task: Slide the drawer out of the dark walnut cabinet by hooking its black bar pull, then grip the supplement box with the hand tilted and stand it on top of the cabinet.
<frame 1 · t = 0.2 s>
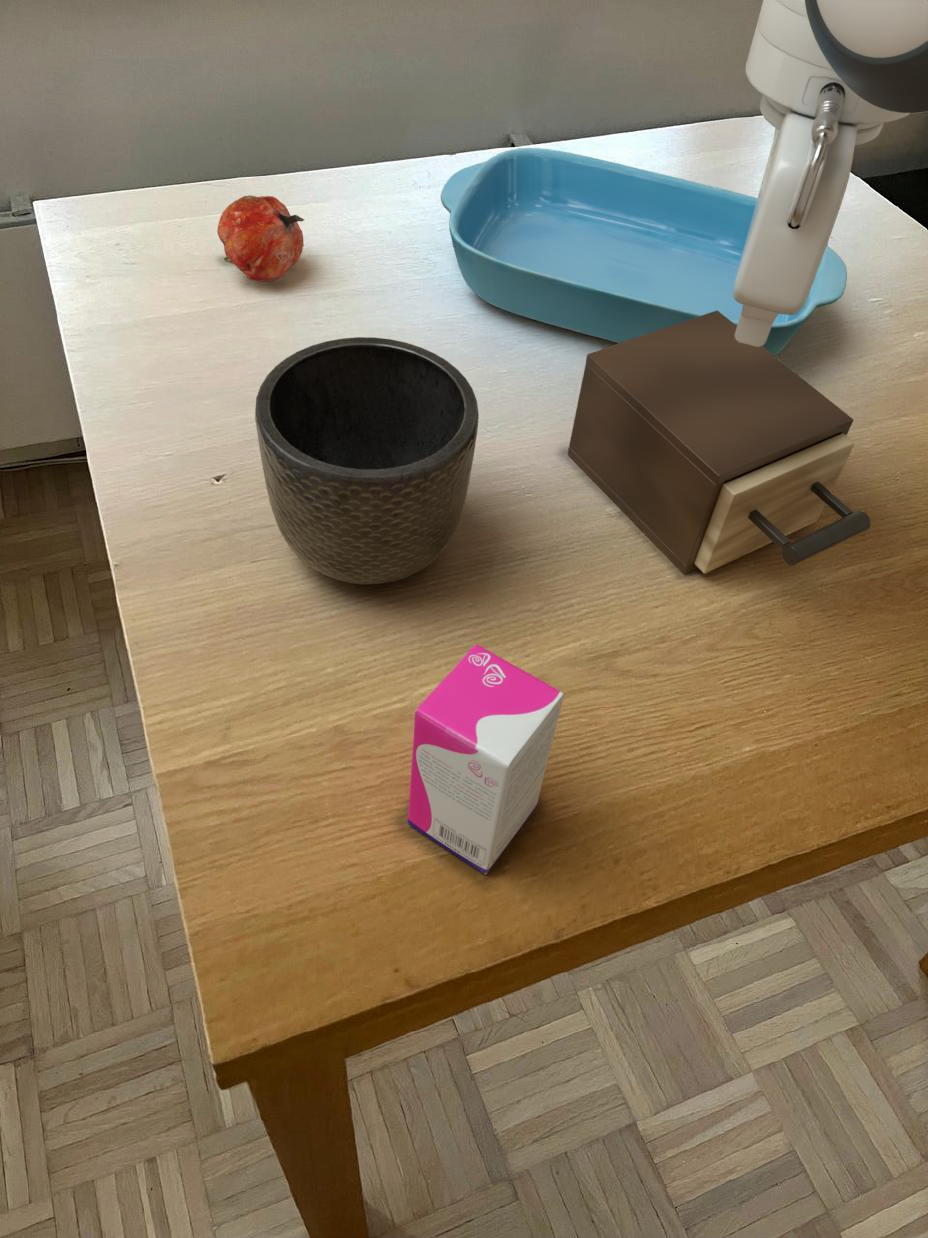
hand: (759, 294, 61), 20 cm above the table, tool pointing down, fingers open, 8 cm apart
supplement box: (472, 815, 60), on the table
cabinet: (685, 485, 80), on the table
planter: (367, 546, 74), on the table
casserole dish: (626, 296, 96), on the table
pomegranate: (262, 273, 94), on the table
drawer: (738, 472, 74), point 5 cm above the table, slide at 0.0 cm
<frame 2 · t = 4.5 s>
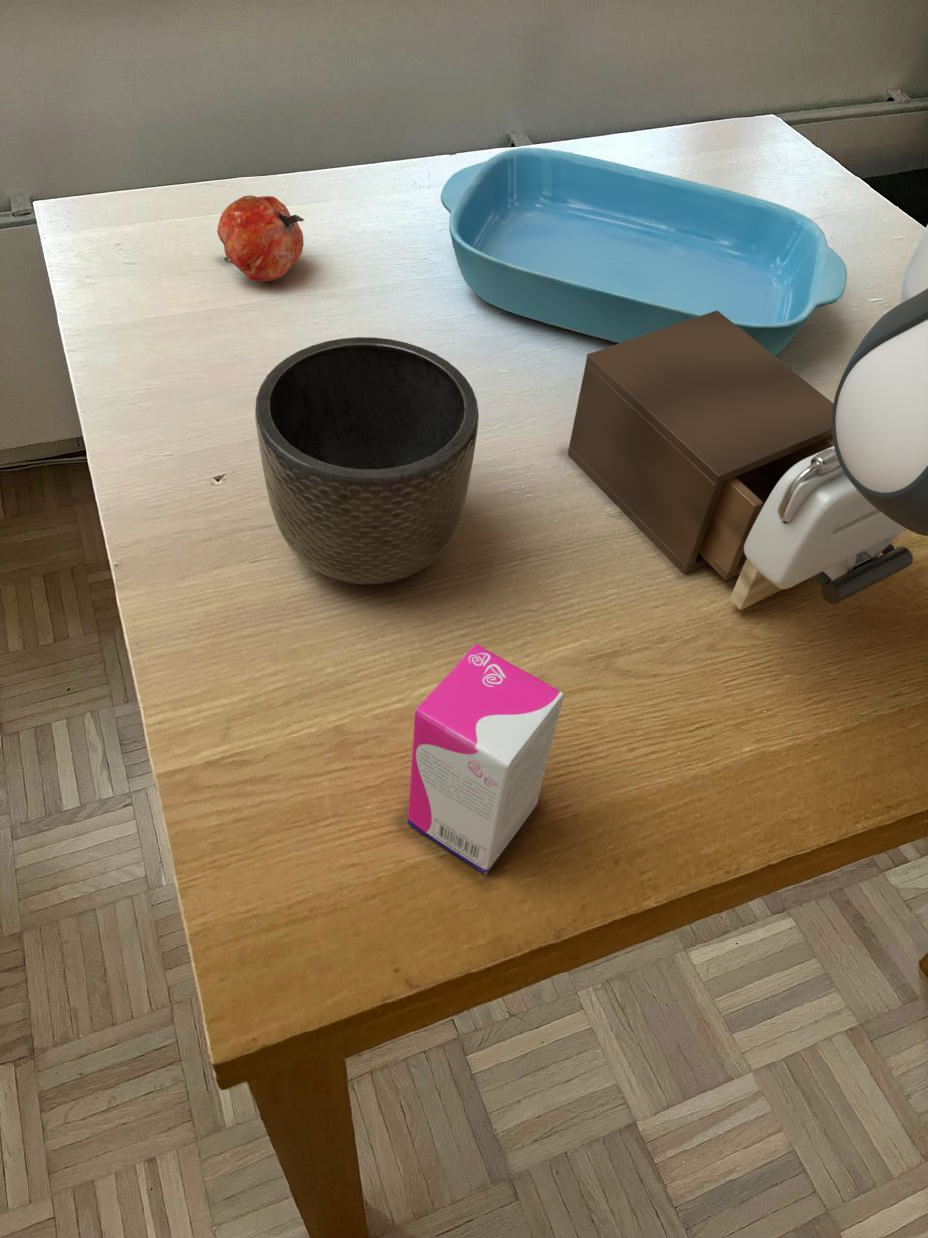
hand: (844, 571, 69), 4 cm above the table, tool pointing down, fingers closed, pressing on drawer
drawer: (775, 505, 72), point 5 cm above the table, slide at 3.9 cm, touching gripper
everything else where it was.
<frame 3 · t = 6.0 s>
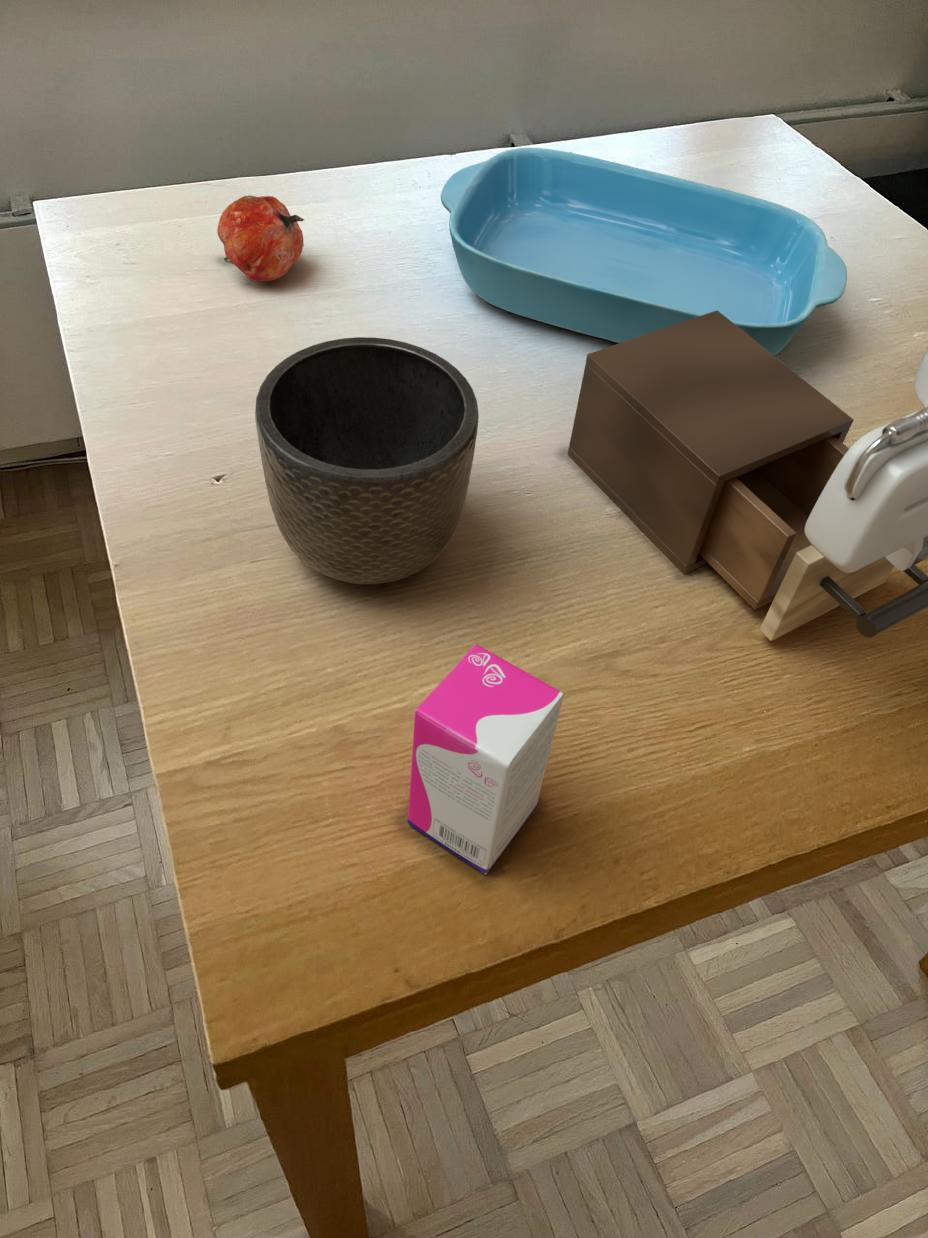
hand: (908, 556, 64), 9 cm above the table, tool pointing down, fingers closed
drawer: (805, 533, 71), point 5 cm above the table, slide at 7.0 cm
everything else where it was.
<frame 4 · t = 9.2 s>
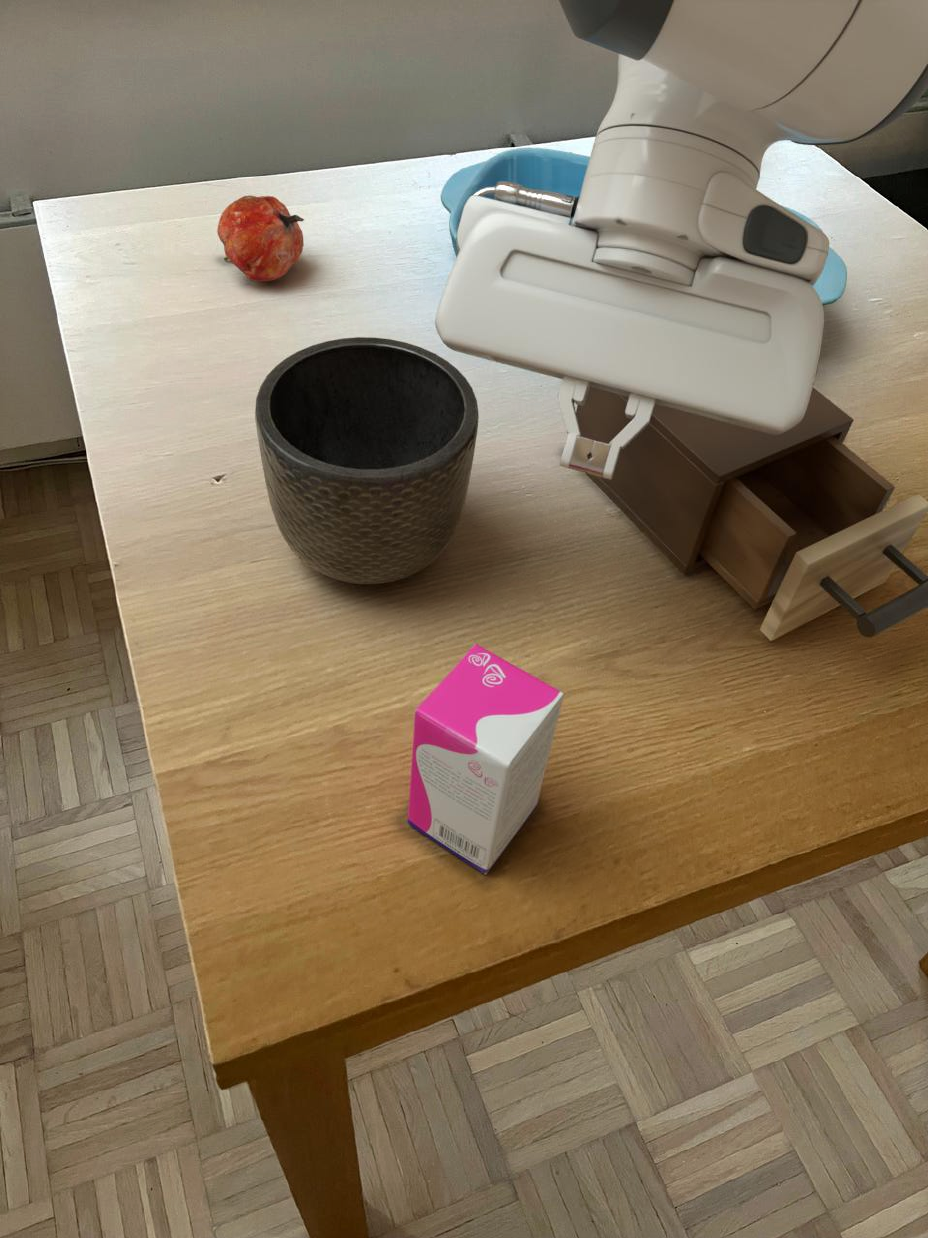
hand: (585, 472, 56), 16 cm above the table, tool tilted 45°, fingers closed
nothing on the table moved.
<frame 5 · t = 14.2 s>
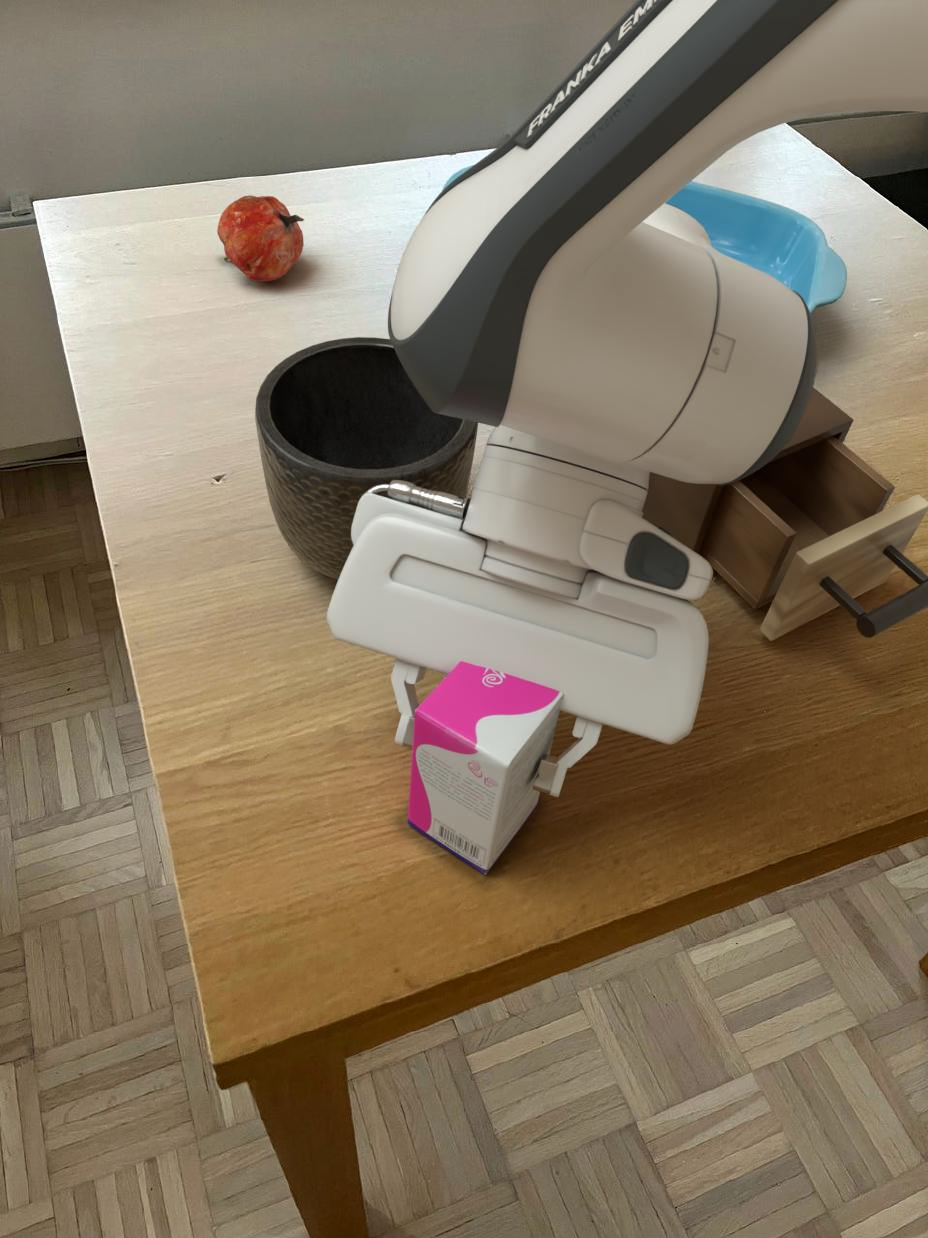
hand: (477, 769, 55), 6 cm above the table, tool tilted 45°, fingers closed on supplement box, 6 cm apart
supplement box: (472, 815, 60), on the table, touching gripper
everything else where it was.
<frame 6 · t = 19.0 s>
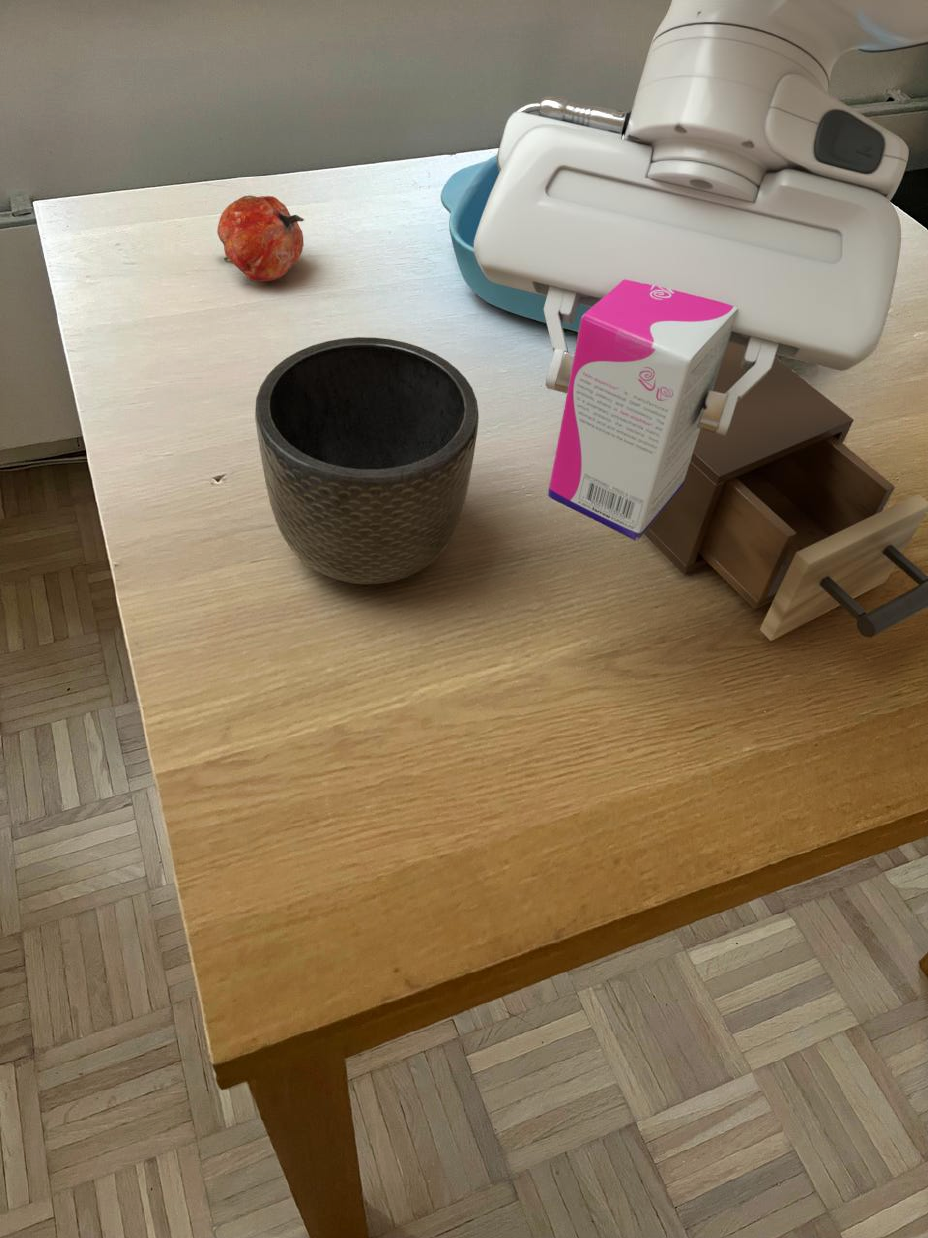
hand: (635, 410, 51), 21 cm above the table, tool tilted 45°, fingers closed on supplement box, 6 cm apart
supplement box: (614, 492, 56), point 15 cm above the table, touching gripper
everything else where it was.
when the fingers open (16 cm above the table, at t = 23.8 s): supplement box stays where it is, resting on cabinet.
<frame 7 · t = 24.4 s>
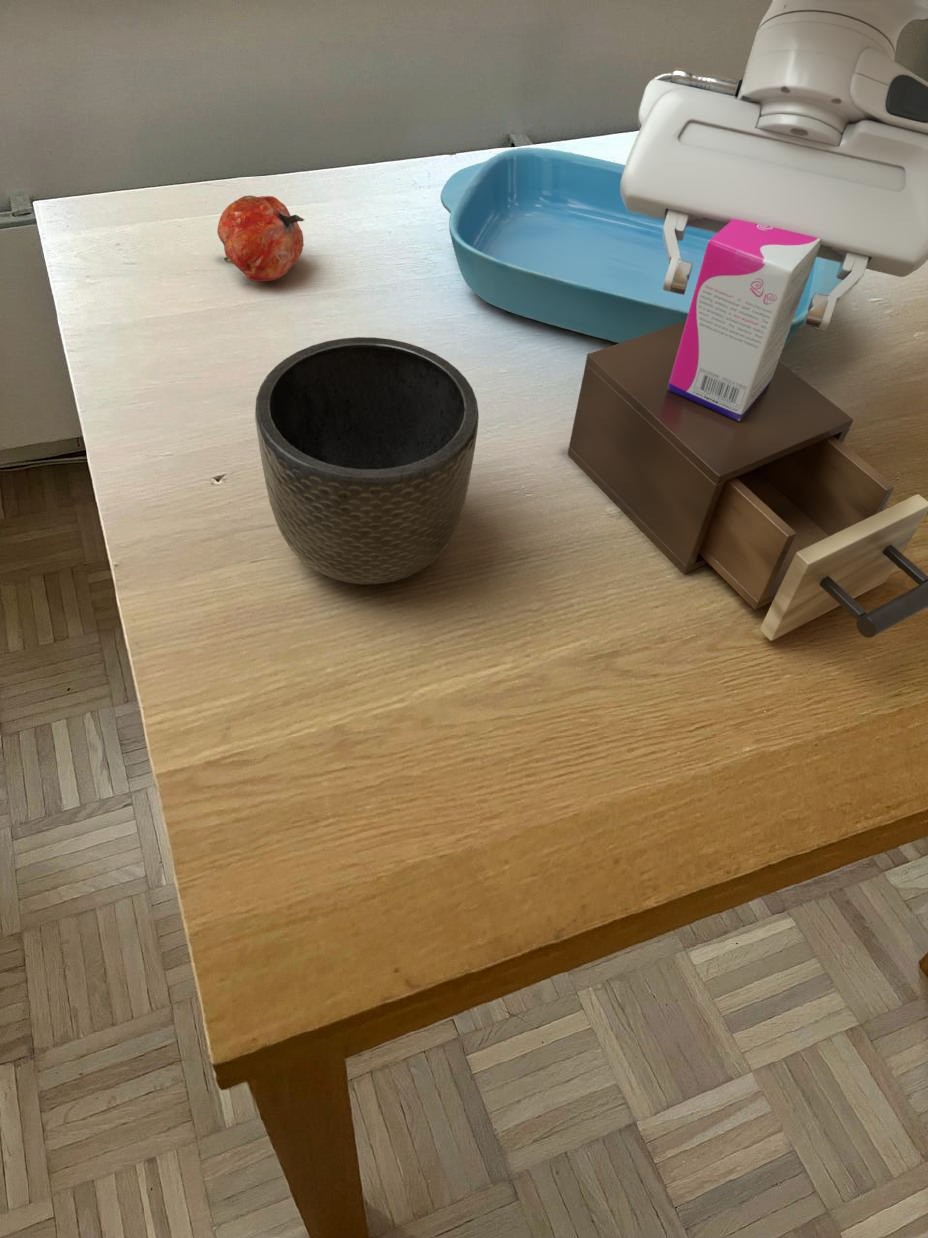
hand: (743, 308, 67), 16 cm above the table, tool tilted 45°, fingers open, 8 cm apart
supplement box: (718, 388, 73), point 9 cm above the table, touching cabinet
everything else where it was.
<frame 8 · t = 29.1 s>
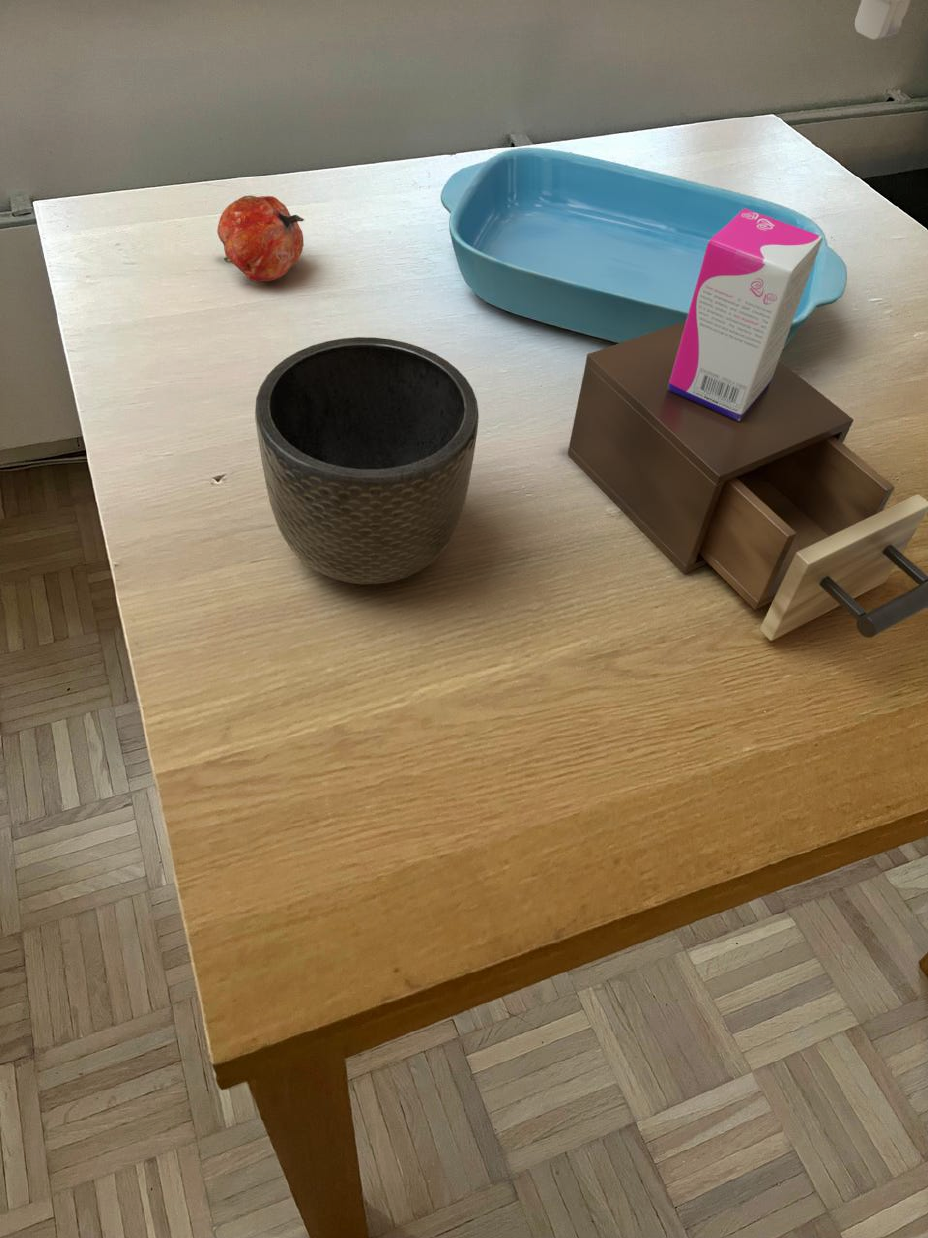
nothing on the table moved.
at the end: drawer slide at 7.0 cm; supplement box inside the target area on the cabinet (0.0 cm from its centre), point 9.4 cm above the cabinet's base; supplement box tilted 0° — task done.
